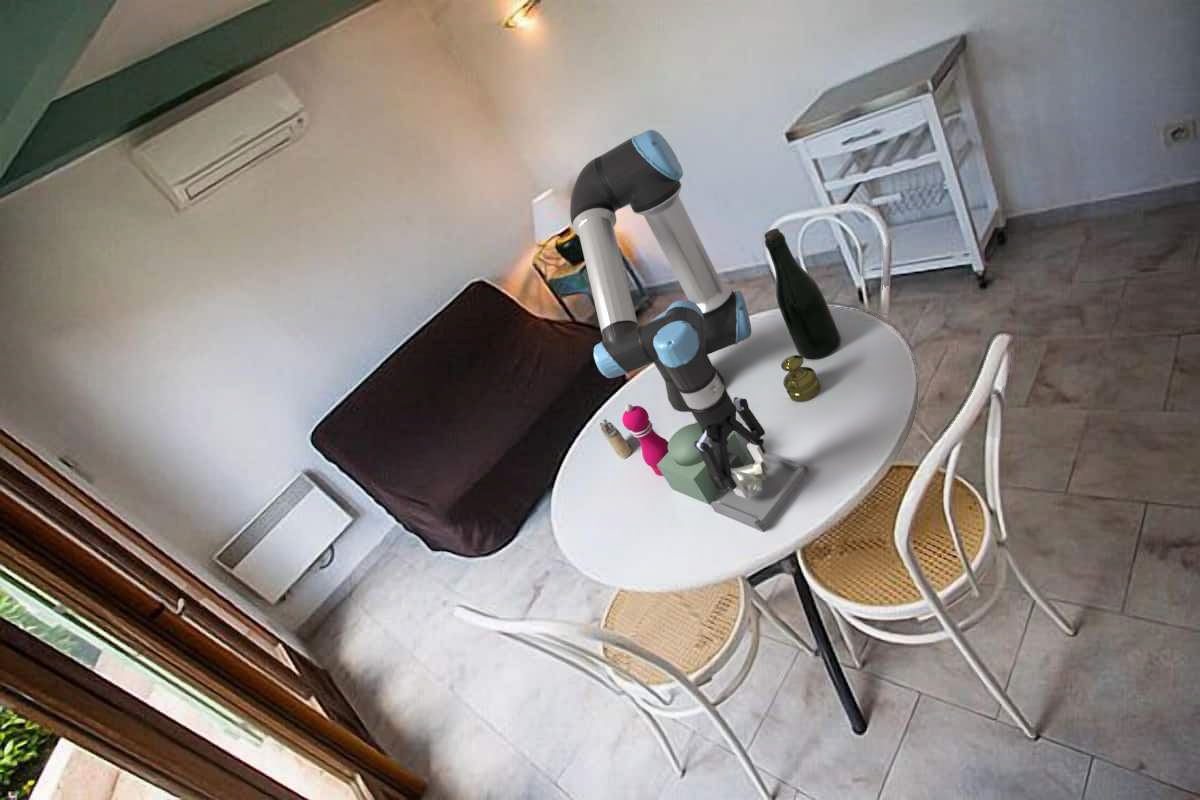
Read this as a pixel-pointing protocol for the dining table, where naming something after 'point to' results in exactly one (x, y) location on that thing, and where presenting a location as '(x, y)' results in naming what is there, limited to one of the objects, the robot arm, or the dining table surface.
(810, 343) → the dark green wine bottle
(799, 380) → the brass rounded piece
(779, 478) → the tray
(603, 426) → the tan cylindrical piece
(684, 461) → the mower housing
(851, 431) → the dining table surface
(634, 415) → the pepper mill
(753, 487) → the pipe fitting
